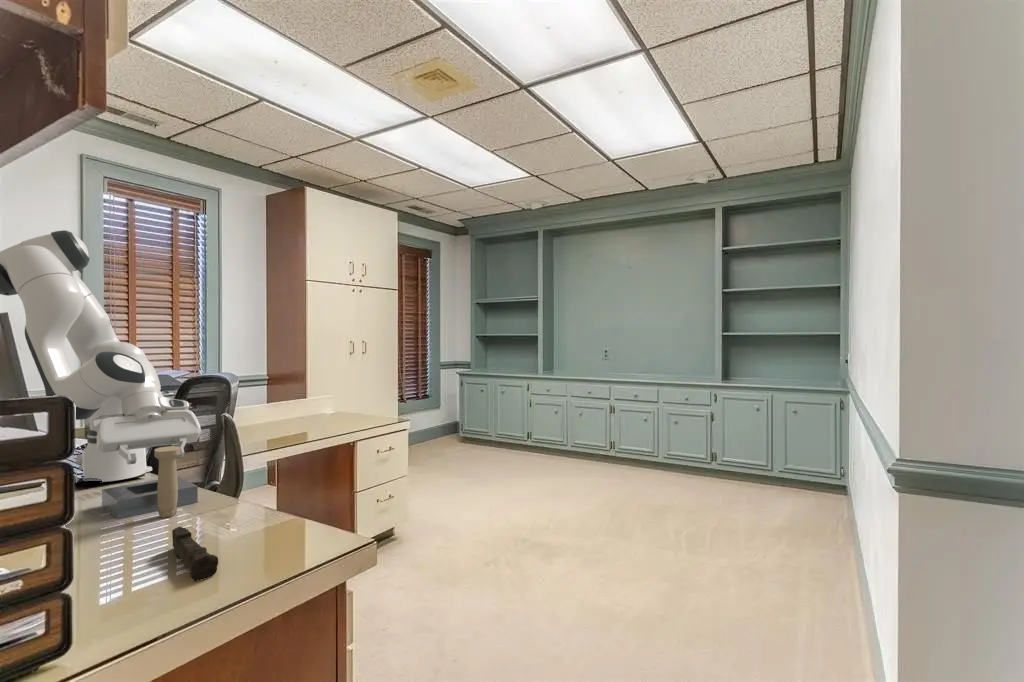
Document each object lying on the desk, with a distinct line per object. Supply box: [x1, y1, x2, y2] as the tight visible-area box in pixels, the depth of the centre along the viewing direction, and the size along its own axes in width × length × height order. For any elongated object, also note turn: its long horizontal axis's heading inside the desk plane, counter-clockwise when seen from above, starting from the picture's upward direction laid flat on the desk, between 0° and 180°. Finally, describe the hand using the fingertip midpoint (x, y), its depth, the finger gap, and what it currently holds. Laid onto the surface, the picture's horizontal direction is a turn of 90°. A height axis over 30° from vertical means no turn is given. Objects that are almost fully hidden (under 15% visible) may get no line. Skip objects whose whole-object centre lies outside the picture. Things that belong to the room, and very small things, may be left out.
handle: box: [153, 445, 180, 519], centre depth 119 cm, size 5×6×15 cm
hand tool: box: [171, 526, 219, 582], centre depth 94 cm, size 19×4×5 cm, turn 42°
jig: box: [101, 475, 199, 520], centre depth 128 cm, size 14×16×4 cm
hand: (156, 459), depth 121 cm, fingers open, 8 cm apart
